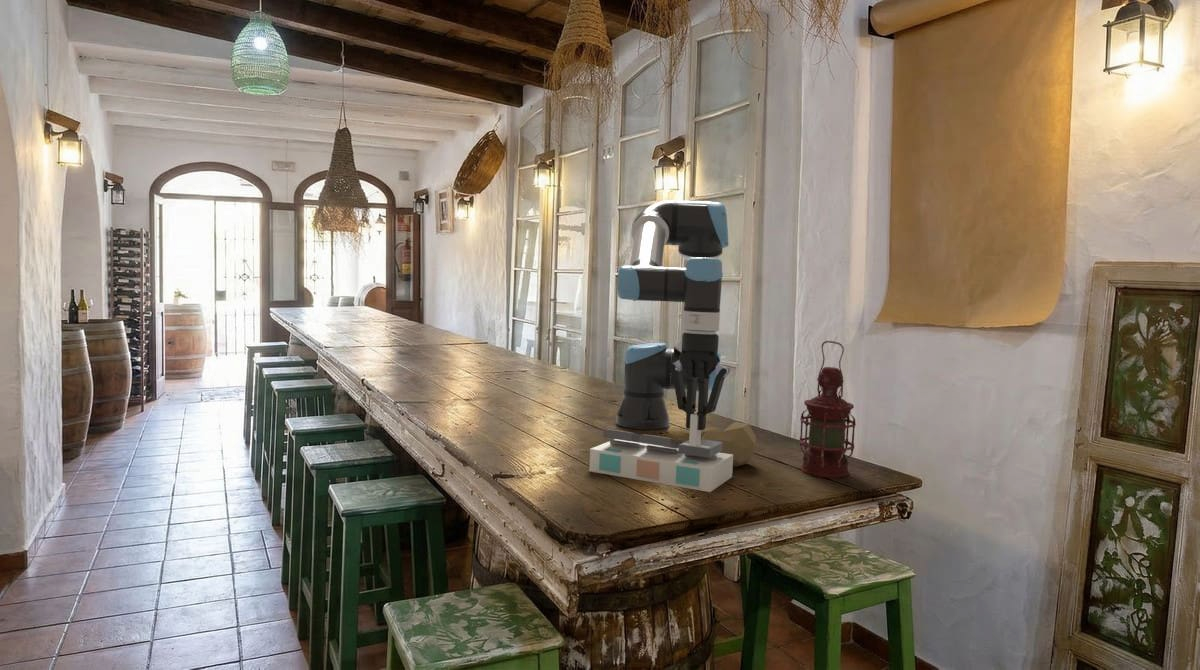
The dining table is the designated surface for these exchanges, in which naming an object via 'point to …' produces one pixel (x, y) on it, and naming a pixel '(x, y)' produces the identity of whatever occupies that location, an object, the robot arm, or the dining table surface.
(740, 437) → the low-poly potato
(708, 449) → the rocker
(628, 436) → the rocker
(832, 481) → the dining table surface
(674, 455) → the console
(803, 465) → the lantern
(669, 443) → the rocker middle
